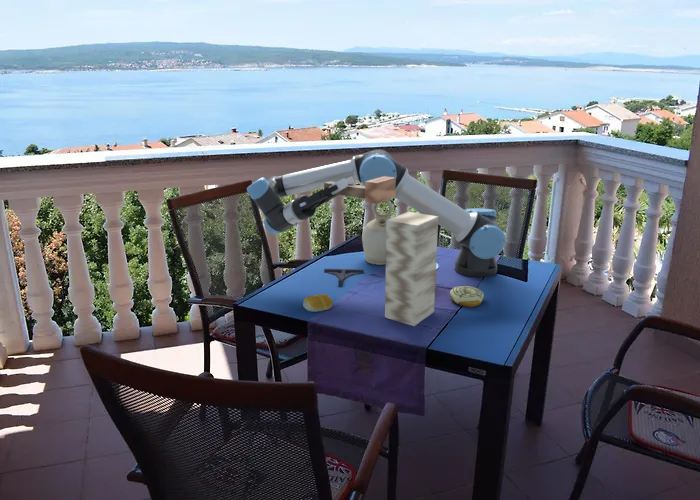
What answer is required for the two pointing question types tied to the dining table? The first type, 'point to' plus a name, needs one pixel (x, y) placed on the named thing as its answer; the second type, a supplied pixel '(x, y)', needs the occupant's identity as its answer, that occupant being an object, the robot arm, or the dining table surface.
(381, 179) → the wooden mallet
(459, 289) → the decorated donut
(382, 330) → the dining table surface
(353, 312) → the dining table surface
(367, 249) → the jug
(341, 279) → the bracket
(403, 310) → the stand
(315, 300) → the bread roll
